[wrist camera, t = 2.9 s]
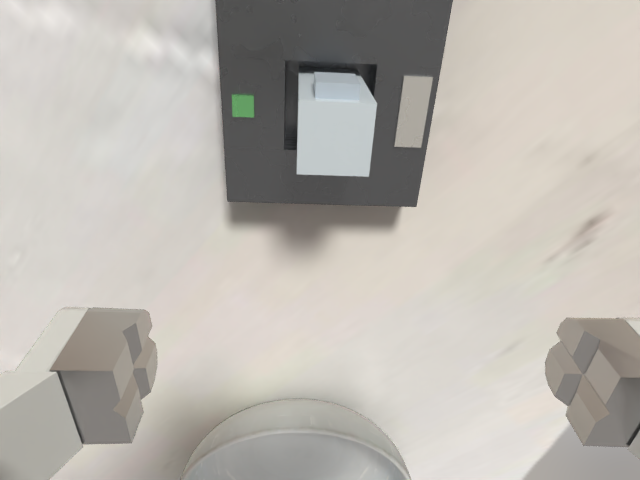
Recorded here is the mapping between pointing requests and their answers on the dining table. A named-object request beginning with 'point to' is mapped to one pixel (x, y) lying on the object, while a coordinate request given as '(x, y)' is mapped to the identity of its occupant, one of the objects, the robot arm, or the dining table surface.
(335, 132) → the plug
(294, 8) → the panel
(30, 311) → the dining table surface
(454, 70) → the dining table surface
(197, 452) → the serving bowl
